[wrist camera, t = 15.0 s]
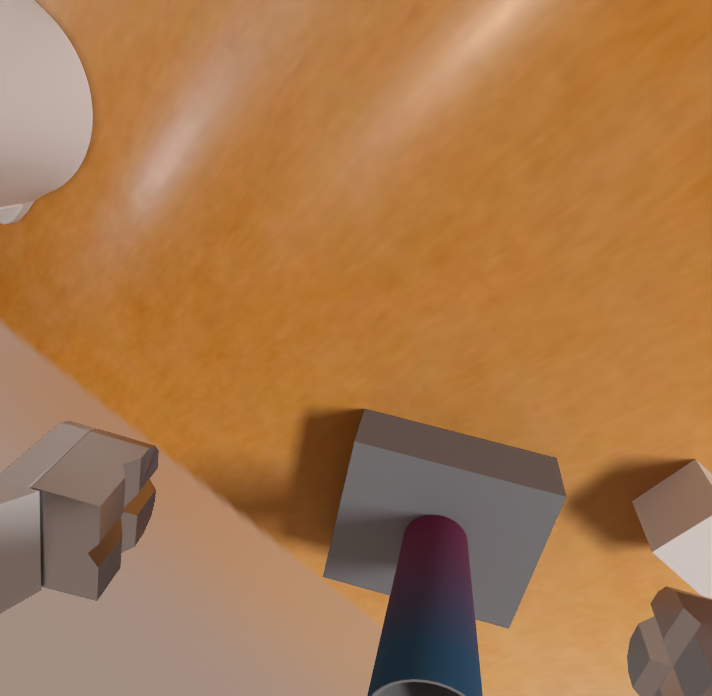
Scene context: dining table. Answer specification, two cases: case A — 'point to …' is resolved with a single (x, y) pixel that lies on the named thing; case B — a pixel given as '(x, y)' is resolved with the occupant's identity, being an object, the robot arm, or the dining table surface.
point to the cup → (429, 617)
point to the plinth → (444, 507)
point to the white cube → (681, 524)
